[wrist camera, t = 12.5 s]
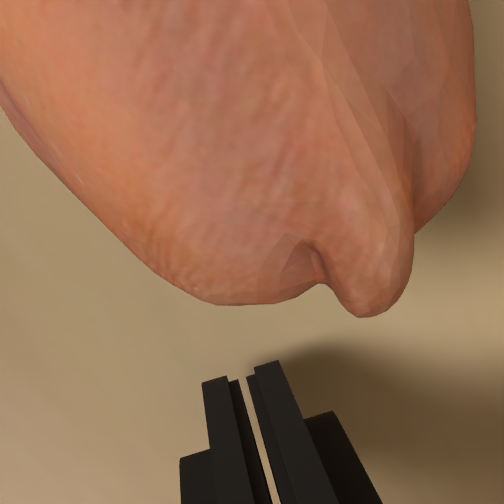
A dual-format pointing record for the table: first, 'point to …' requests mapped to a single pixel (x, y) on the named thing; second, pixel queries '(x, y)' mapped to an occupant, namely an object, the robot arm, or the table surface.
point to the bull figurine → (251, 133)
